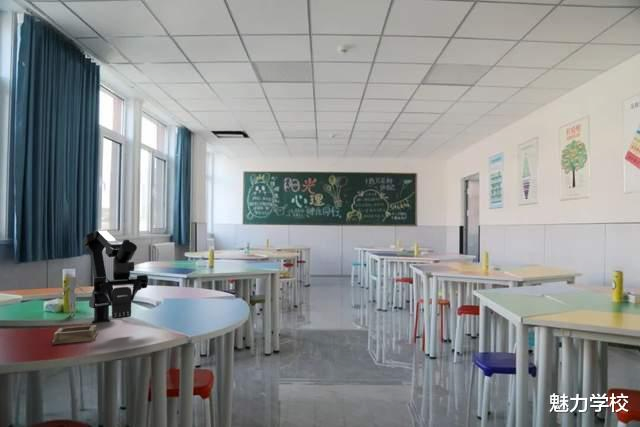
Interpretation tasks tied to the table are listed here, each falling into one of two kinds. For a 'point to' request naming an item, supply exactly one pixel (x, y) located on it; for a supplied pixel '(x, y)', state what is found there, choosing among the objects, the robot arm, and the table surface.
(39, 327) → the table surface
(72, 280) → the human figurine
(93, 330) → the wooden tray
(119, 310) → the battery
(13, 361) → the table surface
